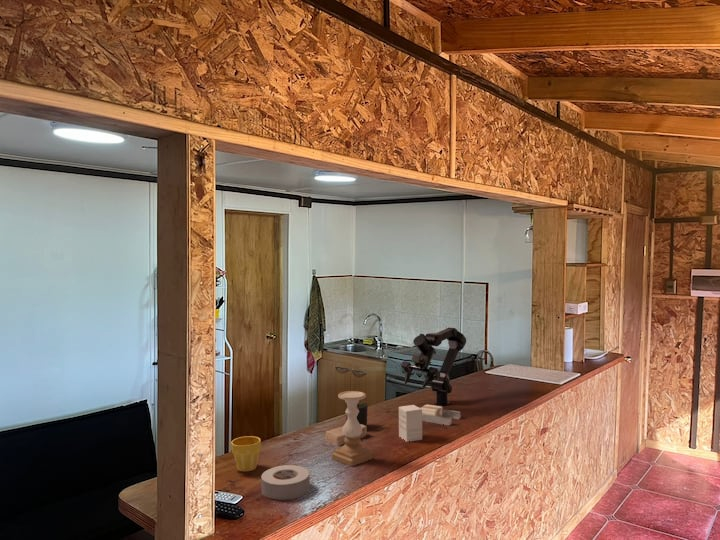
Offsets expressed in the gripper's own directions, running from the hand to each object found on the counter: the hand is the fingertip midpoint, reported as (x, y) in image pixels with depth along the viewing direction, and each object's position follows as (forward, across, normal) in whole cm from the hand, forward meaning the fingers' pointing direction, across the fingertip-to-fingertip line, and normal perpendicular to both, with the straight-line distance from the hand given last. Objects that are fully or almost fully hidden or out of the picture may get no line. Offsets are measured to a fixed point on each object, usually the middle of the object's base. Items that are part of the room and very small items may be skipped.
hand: (413, 385), depth 255 cm
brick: (+39, -7, -23) cm, 46 cm away
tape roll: (+70, +4, -62) cm, 94 cm away
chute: (+9, +12, +10) cm, 18 cm away
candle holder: (+49, +7, -37) cm, 62 cm away
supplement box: (+28, +15, -13) cm, 35 cm away
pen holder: (+30, -11, -13) cm, 35 cm away
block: (+10, +9, +10) cm, 16 cm away
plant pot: (+68, -19, -57) cm, 91 cm away
